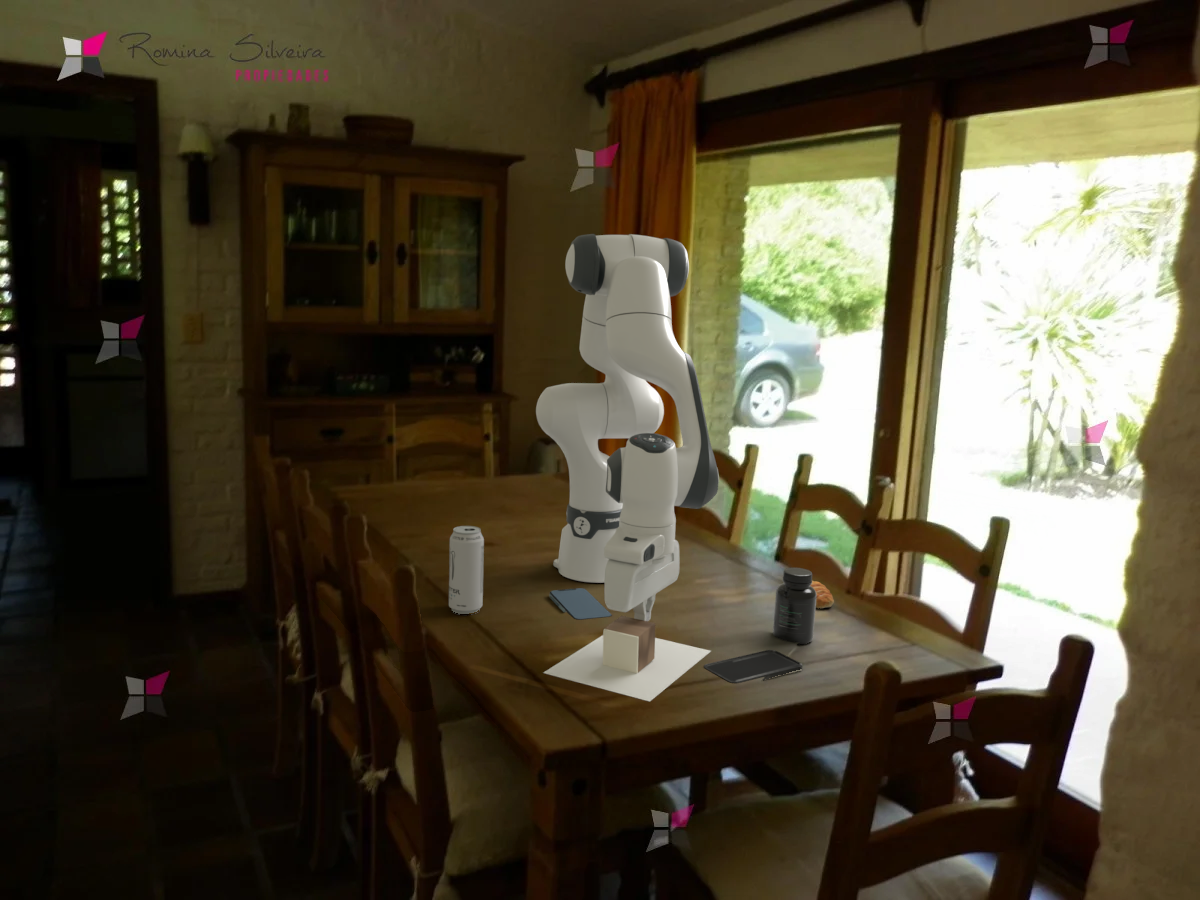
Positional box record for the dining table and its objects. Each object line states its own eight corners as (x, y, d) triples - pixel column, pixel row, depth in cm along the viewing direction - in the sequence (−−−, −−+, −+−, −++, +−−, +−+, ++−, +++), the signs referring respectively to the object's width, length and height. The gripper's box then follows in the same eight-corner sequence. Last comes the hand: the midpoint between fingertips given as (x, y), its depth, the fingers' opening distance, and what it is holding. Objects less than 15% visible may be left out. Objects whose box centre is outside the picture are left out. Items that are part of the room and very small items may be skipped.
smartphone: (575, 619, 172) (547, 590, 186) (574, 628, 172) (547, 598, 186) (615, 615, 175) (585, 587, 189) (614, 624, 175) (584, 595, 189)
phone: (805, 665, 156) (733, 683, 148) (805, 672, 156) (732, 690, 148) (771, 648, 163) (700, 664, 155) (771, 655, 163) (700, 671, 155)
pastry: (842, 609, 187) (844, 589, 186) (812, 612, 184) (814, 593, 183) (814, 593, 195) (815, 575, 194) (785, 597, 193) (786, 578, 192)
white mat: (613, 631, 169) (614, 628, 169) (710, 654, 161) (711, 650, 161) (542, 676, 149) (543, 672, 149) (649, 705, 141) (649, 701, 141)
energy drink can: (445, 606, 178) (446, 525, 176) (477, 603, 181) (479, 524, 178) (452, 617, 173) (454, 534, 170) (486, 614, 175) (487, 532, 172)
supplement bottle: (784, 628, 174) (789, 563, 172) (819, 638, 170) (825, 571, 168) (765, 638, 169) (770, 571, 167) (800, 649, 165) (806, 580, 163)
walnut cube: (621, 615, 157) (603, 629, 152) (655, 623, 154) (637, 637, 149) (620, 650, 158) (602, 665, 153) (654, 658, 156) (637, 673, 150)
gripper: (656, 521, 165) (652, 600, 167) (598, 549, 147) (594, 637, 150) (691, 527, 162) (686, 607, 164) (636, 557, 144) (631, 646, 147)
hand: (642, 621), depth 157 cm, fingers closed
